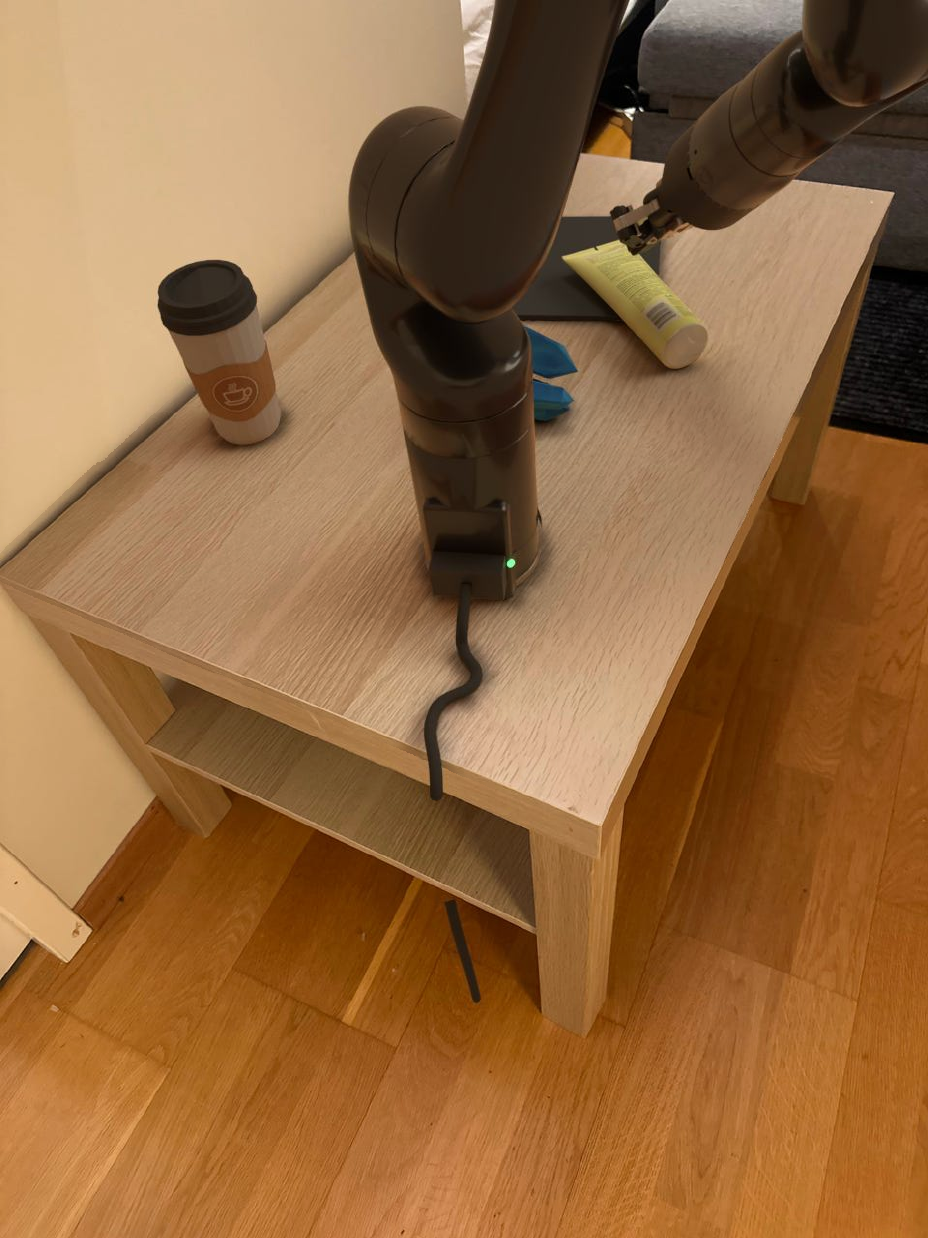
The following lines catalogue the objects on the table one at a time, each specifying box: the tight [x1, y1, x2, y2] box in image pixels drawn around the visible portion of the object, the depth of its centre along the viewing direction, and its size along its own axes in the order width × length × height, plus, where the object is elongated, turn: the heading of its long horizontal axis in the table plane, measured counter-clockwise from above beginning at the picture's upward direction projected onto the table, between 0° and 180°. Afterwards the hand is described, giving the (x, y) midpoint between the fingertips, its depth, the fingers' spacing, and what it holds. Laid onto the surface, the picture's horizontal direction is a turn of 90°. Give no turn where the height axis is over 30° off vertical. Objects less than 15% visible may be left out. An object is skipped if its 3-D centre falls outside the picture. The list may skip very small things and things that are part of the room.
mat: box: [512, 215, 661, 322], centre depth 98 cm, size 20×22×1 cm
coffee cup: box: [156, 259, 282, 445], centre depth 81 cm, size 8×8×15 cm
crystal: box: [524, 325, 579, 422], centre depth 81 cm, size 7×9×12 cm
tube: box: [562, 240, 709, 370], centre depth 90 cm, size 6×5×20 cm
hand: (634, 242), depth 80 cm, fingers closed
